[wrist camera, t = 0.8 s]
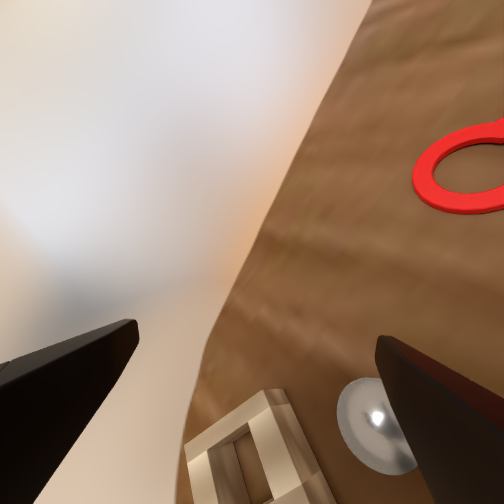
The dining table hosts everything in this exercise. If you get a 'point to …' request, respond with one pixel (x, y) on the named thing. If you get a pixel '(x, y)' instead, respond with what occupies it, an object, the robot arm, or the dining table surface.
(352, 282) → the dining table surface
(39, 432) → the robot arm
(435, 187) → the tow hook
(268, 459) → the pin block
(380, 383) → the metal pin
